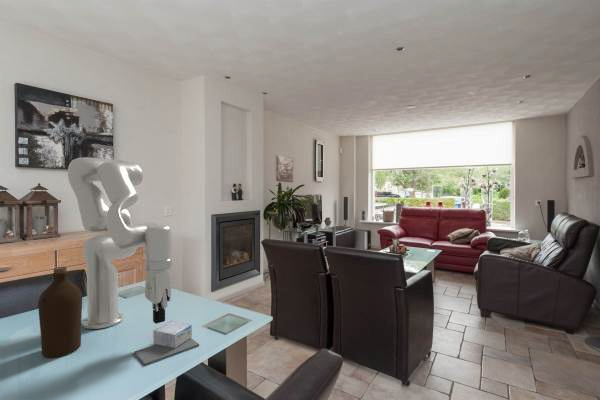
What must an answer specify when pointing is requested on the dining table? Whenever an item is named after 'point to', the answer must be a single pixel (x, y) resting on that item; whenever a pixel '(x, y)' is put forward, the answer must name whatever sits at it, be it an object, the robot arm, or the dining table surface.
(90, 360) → the dining table surface
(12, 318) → the dining table surface
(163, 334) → the medicine box
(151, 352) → the mat
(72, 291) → the olive oil
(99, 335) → the dining table surface
